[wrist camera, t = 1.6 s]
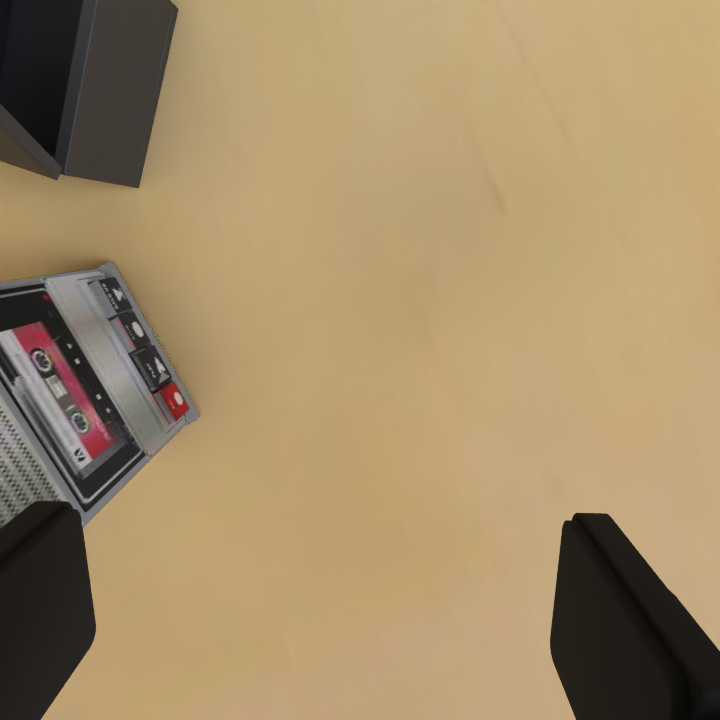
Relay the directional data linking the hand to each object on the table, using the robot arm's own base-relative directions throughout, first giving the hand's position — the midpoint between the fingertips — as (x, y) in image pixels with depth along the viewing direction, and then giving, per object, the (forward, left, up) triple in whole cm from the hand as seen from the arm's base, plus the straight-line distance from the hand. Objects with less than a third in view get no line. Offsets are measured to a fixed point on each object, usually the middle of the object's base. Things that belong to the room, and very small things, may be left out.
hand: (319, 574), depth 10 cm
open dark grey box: (-10, -25, -33) cm, 42 cm away
